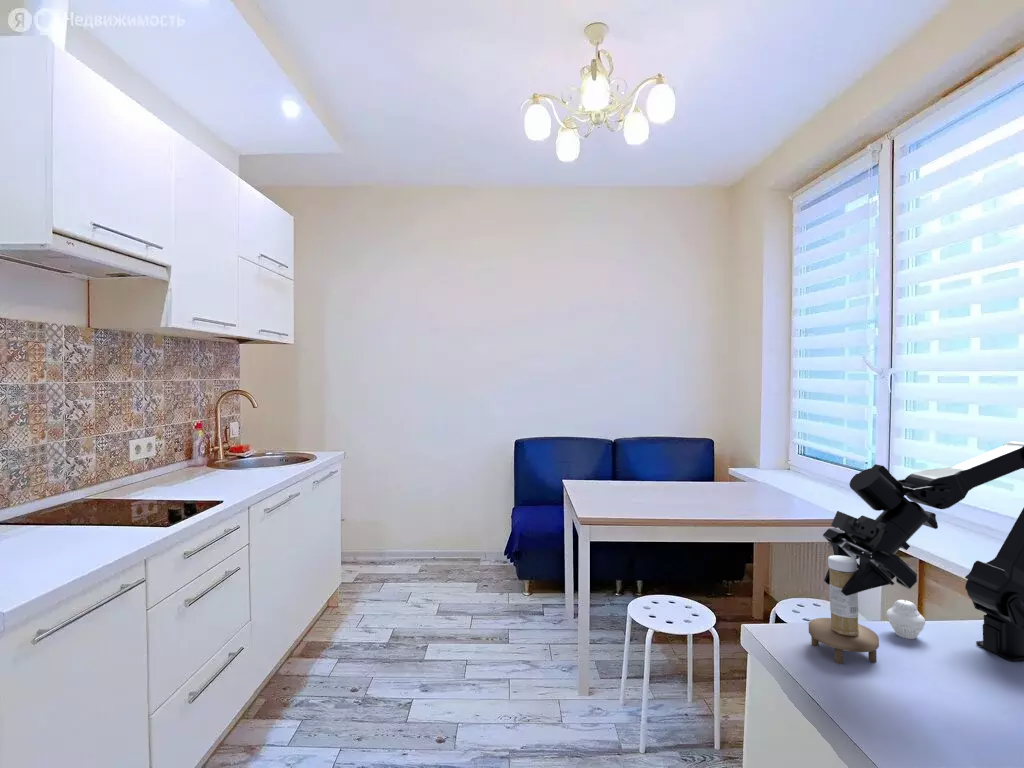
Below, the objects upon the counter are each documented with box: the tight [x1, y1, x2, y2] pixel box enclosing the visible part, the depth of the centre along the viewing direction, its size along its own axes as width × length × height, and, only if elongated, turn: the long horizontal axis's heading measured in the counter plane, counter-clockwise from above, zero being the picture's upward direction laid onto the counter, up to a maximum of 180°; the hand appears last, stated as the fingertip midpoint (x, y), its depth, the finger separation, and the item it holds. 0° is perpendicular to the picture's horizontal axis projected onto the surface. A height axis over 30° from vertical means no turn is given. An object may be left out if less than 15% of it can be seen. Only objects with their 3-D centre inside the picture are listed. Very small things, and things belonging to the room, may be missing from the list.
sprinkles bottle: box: [827, 554, 859, 636], centre depth 96 cm, size 5×5×14 cm
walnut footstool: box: [808, 617, 880, 665], centre depth 96 cm, size 11×11×4 cm
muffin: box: [886, 599, 926, 640], centre depth 102 cm, size 6×6×7 cm
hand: (834, 588), depth 96 cm, fingers open, 5 cm apart
